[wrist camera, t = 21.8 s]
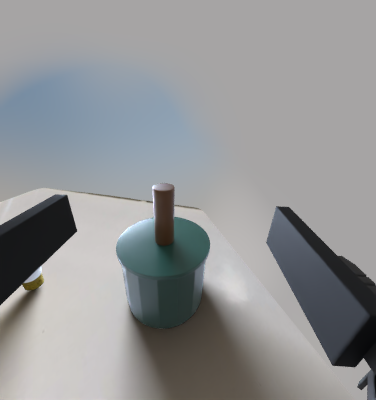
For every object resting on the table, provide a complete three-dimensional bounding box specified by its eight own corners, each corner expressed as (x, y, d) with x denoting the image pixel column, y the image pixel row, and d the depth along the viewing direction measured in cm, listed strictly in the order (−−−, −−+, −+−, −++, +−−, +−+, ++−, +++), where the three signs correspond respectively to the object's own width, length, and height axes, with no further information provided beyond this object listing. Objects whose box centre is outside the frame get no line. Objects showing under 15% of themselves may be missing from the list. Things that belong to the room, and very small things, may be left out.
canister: (205, 270, 36) (210, 226, 32) (194, 339, 25) (199, 286, 20) (147, 258, 38) (144, 216, 34) (112, 316, 27) (100, 265, 23)
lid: (213, 228, 32) (219, 176, 28) (202, 295, 20) (210, 222, 16) (142, 217, 35) (139, 168, 30) (95, 271, 23) (78, 202, 18)
